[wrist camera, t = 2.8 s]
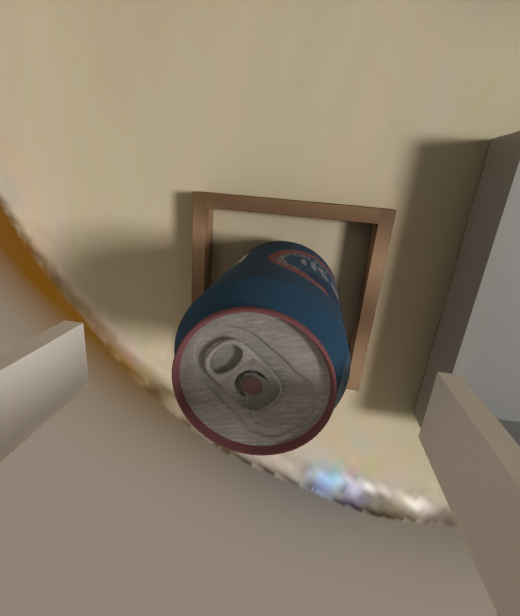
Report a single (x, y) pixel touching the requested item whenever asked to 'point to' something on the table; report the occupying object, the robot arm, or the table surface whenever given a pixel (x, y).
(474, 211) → the grey bin
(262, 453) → the soda can
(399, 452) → the table surface
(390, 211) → the walnut frame
